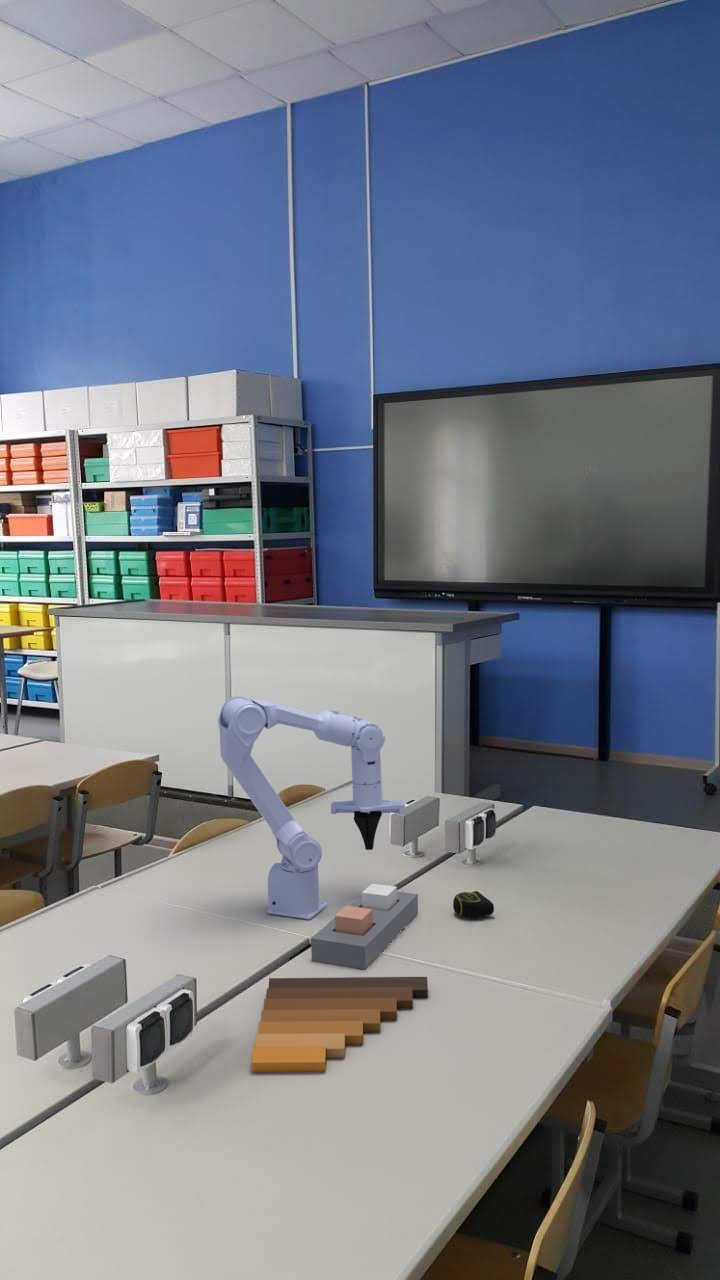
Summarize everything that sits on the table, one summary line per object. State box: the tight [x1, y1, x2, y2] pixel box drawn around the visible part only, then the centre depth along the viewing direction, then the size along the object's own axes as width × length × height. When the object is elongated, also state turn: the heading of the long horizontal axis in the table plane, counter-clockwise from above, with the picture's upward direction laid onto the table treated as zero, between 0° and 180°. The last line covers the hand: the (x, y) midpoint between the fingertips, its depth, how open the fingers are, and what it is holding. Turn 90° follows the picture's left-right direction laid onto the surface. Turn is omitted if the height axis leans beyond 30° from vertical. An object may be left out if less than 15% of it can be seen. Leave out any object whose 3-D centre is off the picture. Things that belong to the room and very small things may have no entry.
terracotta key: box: [334, 905, 373, 936], centre depth 176 cm, size 5×5×4 cm
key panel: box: [310, 891, 419, 970], centre depth 182 cm, size 10×26×4 cm, turn 157°
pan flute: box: [251, 976, 429, 1073], centre depth 148 cm, size 25×3×25 cm
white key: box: [361, 883, 398, 911], centre depth 187 cm, size 5×5×4 cm
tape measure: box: [452, 890, 495, 920], centre depth 191 cm, size 7×7×4 cm
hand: (369, 848), depth 199 cm, fingers closed
